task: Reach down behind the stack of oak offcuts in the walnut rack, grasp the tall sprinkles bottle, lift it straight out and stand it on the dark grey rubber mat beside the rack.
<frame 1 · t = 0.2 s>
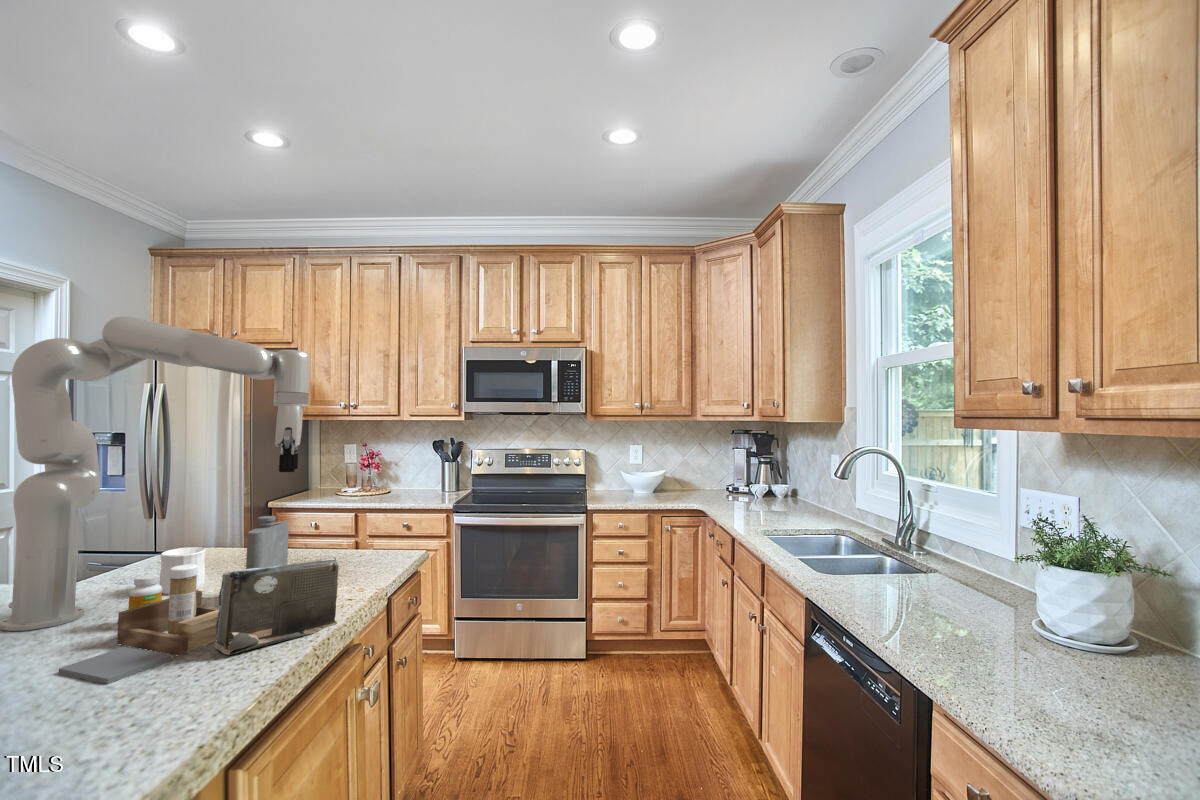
hand: (288, 470, 135), 31 cm above the counter, tool pointing down, fingers open, 9 cm apart
hip flask: (264, 601, 132), on the counter
supplement bottle: (144, 624, 116), on the counter
rubber mat: (117, 666, 96), on the counter
sprinkles bottle: (180, 635, 110), resting in rack
rack: (186, 635, 110), on the counter
radio: (279, 636, 111), on the counter
offcut stack: (208, 639, 108), resting in rack
cup: (182, 590, 140), on the counter
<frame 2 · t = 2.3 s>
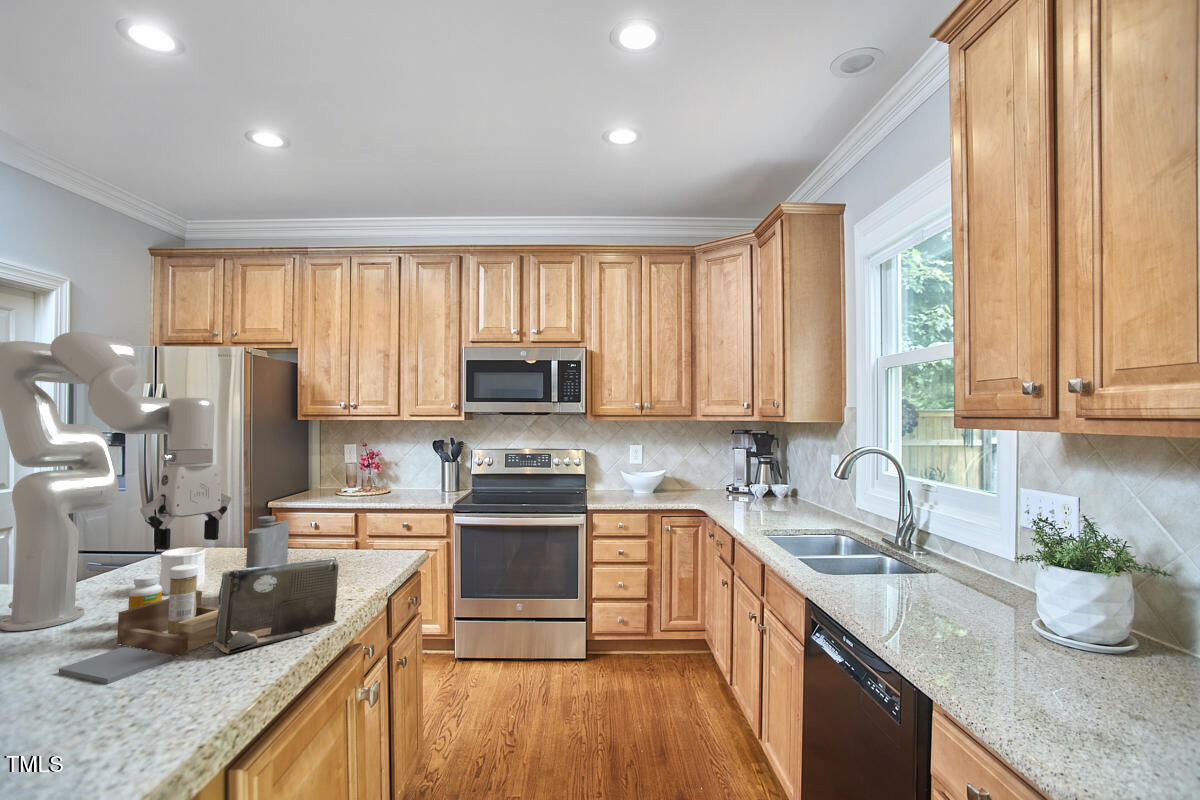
hand: (187, 544, 111), 18 cm above the counter, tool pointing down, fingers open, 9 cm apart
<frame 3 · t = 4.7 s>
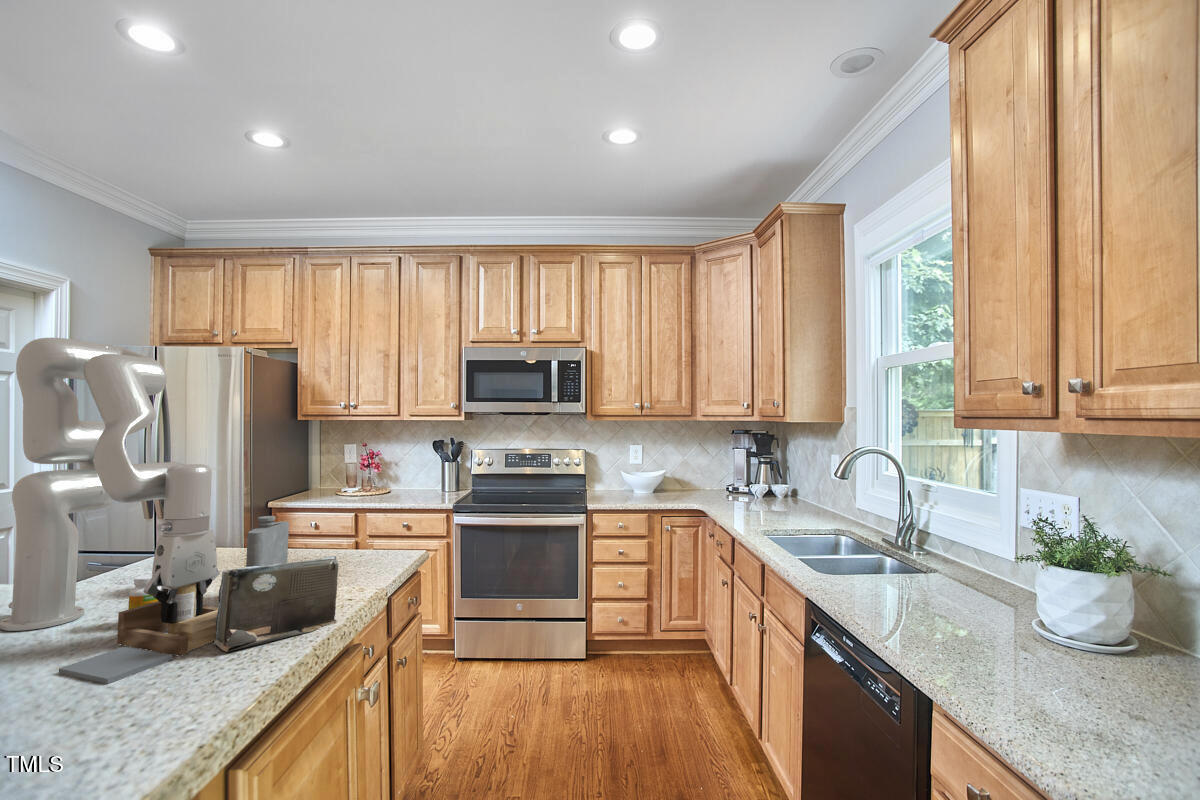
hand: (182, 617, 110), 3 cm above the counter, tool pointing down, fingers closed on sprinkles bottle, 4 cm apart
sprinkles bottle: (180, 635, 110), resting in rack, touching gripper
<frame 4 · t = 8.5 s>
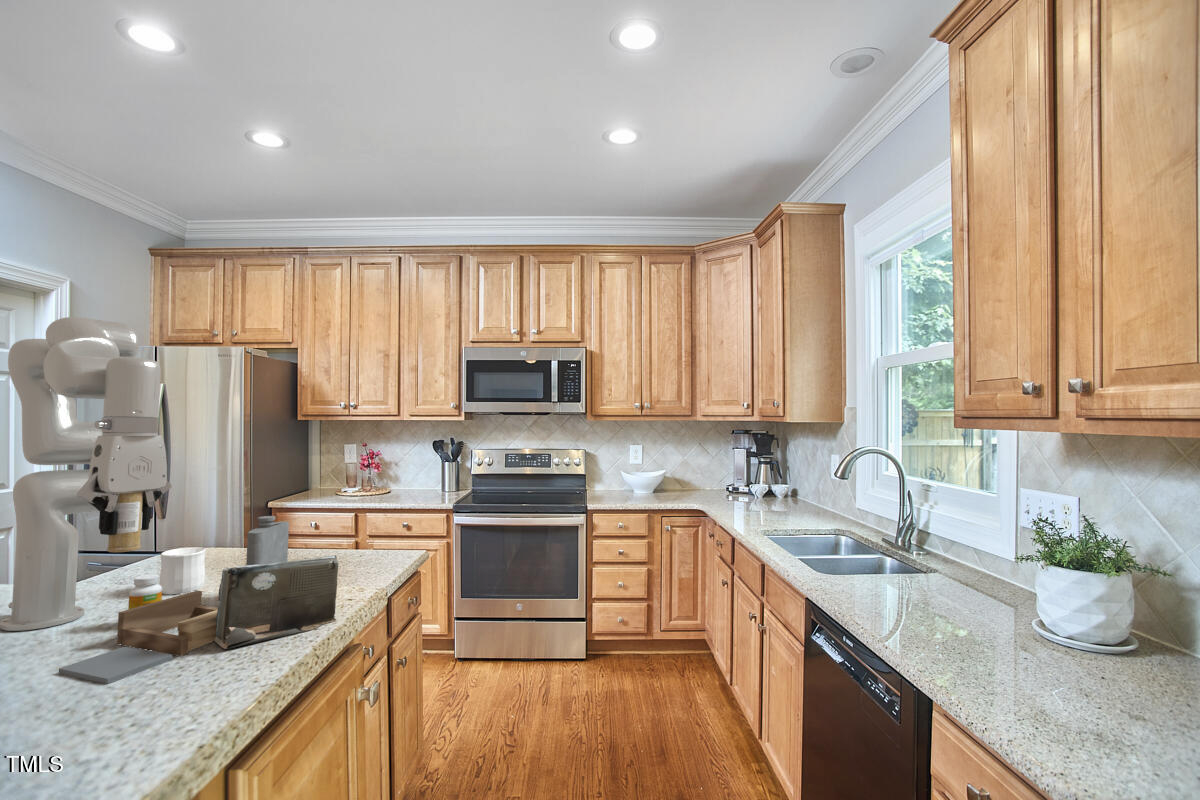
hand: (124, 530, 97), 23 cm above the counter, tool pointing down, fingers closed on sprinkles bottle, 4 cm apart
sprinkles bottle: (123, 551, 97), point 20 cm above the counter, touching gripper
radio: (279, 632, 113), on the counter
everything else where it was.
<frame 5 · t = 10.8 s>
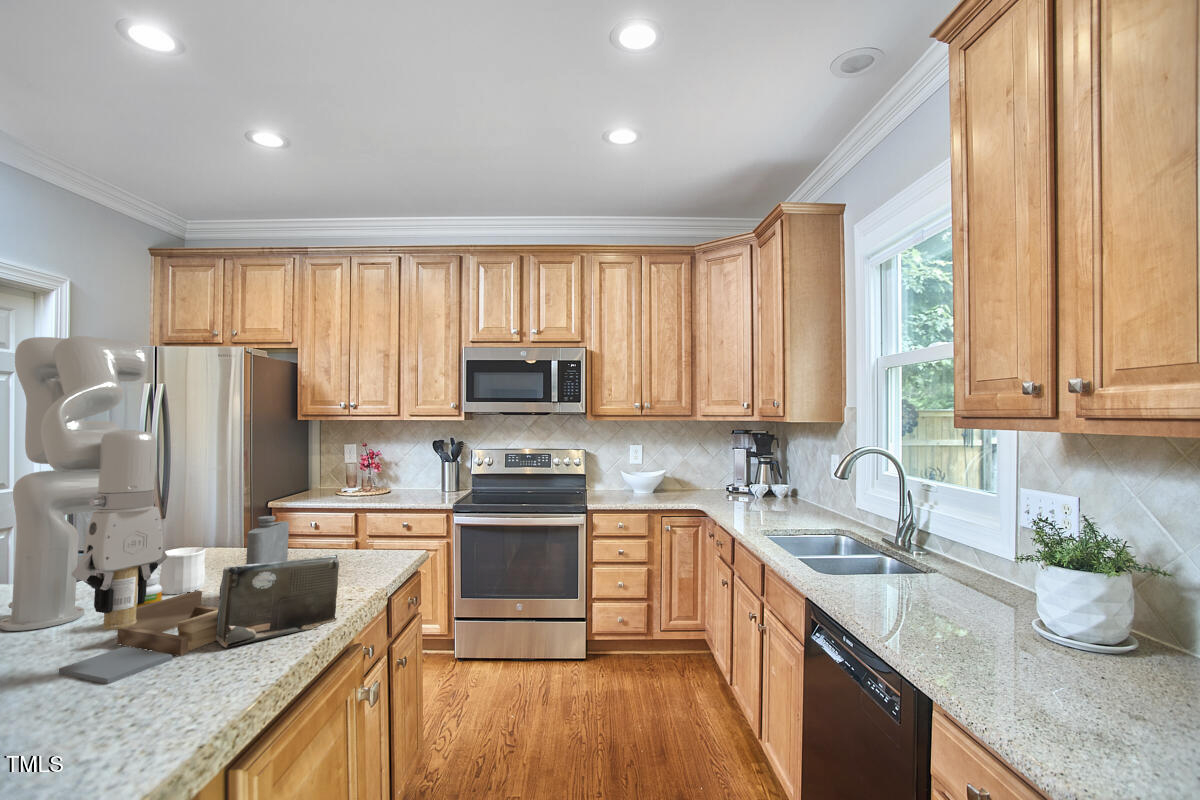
hand: (120, 606, 96), 10 cm above the counter, tool pointing down, fingers closed on sprinkles bottle, 4 cm apart
sprinkles bottle: (119, 627, 96), point 7 cm above the counter, touching gripper
when the fingers open (5 cm above the counter, at t = 12.6 s): sprinkles bottle drops 1 cm, resting on rubber mat.
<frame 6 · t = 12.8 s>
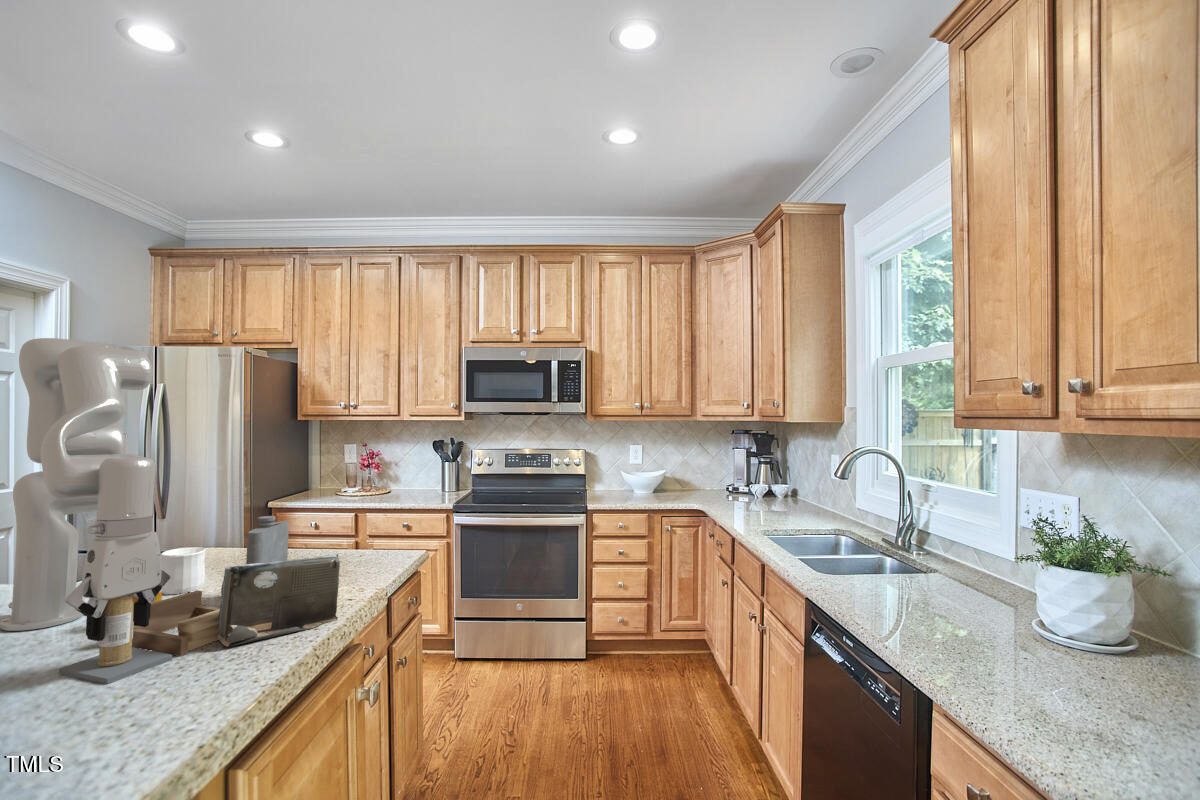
hand: (118, 631, 96), 6 cm above the counter, tool pointing down, fingers open, 6 cm apart
sprinkles bottle: (114, 663, 95), point 1 cm above the counter, touching rubber mat
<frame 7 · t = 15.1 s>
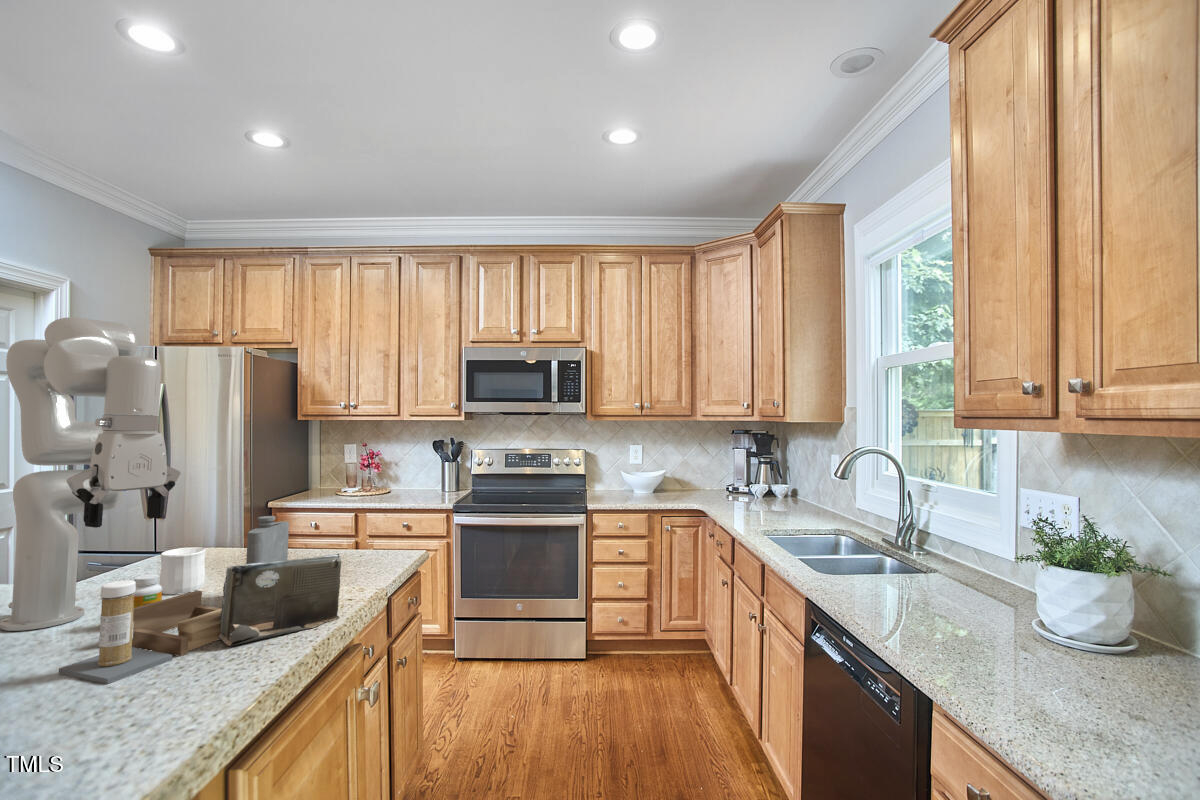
hand: (125, 522, 98), 25 cm above the counter, tool pointing down, fingers open, 9 cm apart
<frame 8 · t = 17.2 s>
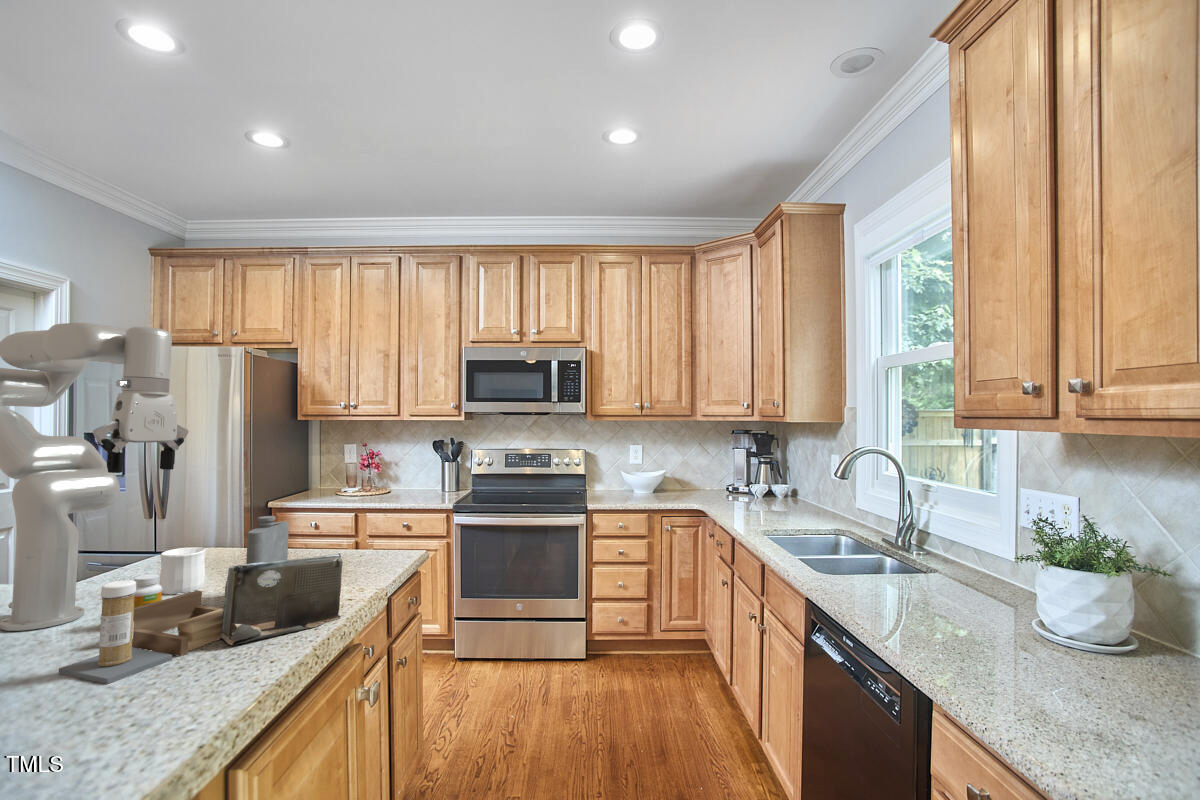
hand: (141, 470, 113), 32 cm above the counter, tool pointing down, fingers open, 9 cm apart
at the end: sprinkles bottle inside the target area on the rubber mat (0.3 cm from its centre), point 0.6 cm above the rubber mat's base; sprinkles bottle tilted 0°; the gripper is holding nothing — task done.
